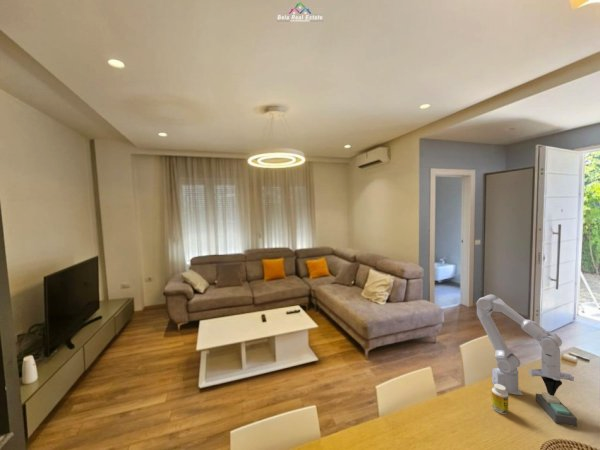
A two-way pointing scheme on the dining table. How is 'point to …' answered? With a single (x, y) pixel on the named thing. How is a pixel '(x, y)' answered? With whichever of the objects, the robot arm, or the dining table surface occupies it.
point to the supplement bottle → (500, 399)
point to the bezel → (556, 416)
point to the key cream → (550, 398)
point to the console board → (554, 420)
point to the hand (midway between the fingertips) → (550, 393)
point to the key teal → (559, 409)
